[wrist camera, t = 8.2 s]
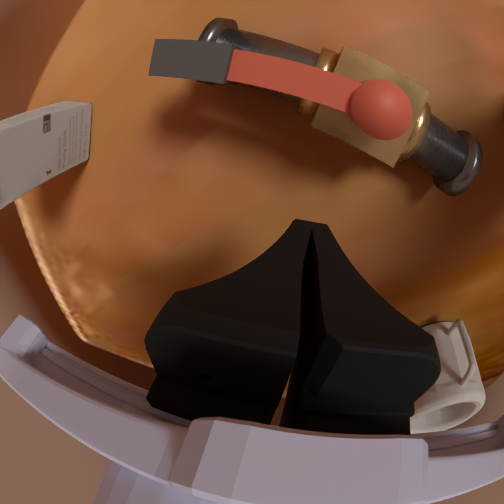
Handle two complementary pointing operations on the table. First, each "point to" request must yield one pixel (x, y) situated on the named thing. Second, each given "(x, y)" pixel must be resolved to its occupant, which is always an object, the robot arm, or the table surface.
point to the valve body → (344, 127)
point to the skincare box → (42, 146)
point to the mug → (450, 382)
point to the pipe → (426, 155)
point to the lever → (287, 82)
